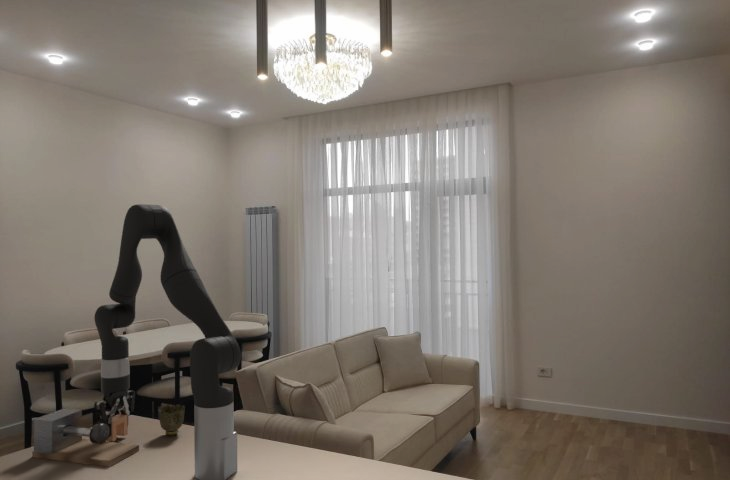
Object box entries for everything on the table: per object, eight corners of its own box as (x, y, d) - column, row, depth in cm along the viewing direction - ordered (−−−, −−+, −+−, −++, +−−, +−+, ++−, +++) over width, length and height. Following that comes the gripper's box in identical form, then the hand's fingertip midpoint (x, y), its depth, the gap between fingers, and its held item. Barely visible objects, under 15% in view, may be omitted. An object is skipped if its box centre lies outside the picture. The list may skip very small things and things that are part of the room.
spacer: (127, 434, 156) (127, 415, 156) (112, 441, 151) (112, 421, 151) (118, 433, 157) (118, 414, 157) (103, 440, 151) (103, 420, 152)
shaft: (109, 440, 144) (109, 421, 144) (95, 446, 140) (95, 427, 140) (73, 436, 148) (73, 417, 148) (58, 442, 143) (58, 423, 143)
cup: (176, 440, 154) (176, 412, 154) (153, 438, 155) (153, 410, 155) (189, 431, 161) (189, 404, 161) (167, 429, 163) (167, 403, 163)
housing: (81, 440, 150) (81, 409, 150) (52, 453, 140) (52, 421, 140) (64, 438, 152) (64, 408, 152) (33, 451, 142) (33, 419, 142)
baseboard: (139, 450, 146) (139, 445, 146) (109, 466, 135) (109, 460, 135) (65, 442, 153) (65, 437, 153) (32, 457, 142) (32, 451, 142)
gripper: (107, 380, 146) (108, 442, 146) (143, 368, 160) (143, 425, 160) (85, 379, 148) (85, 440, 148) (122, 367, 162) (122, 423, 162)
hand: (115, 432), depth 154 cm, fingers closed on spacer, 6 cm apart
